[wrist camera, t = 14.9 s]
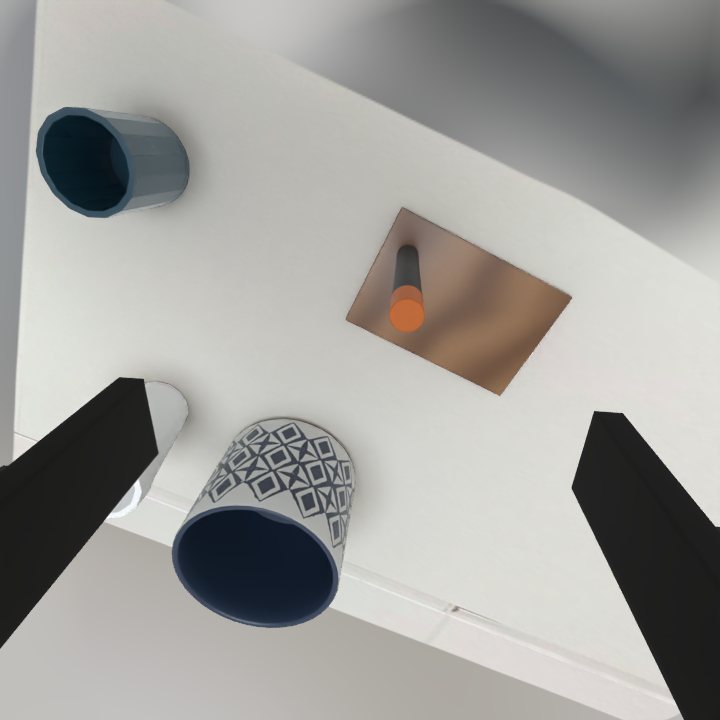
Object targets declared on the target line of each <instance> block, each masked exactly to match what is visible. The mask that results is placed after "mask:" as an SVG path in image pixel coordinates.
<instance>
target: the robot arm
mask: <svg viewBox="0 0 720 720" xmlns="http://www.w3.org/2000/svg"><path fill="white" fill-rule="evenodd" d="M158 454H159V452H158V447H157V442H156V437H155V432H154V427H153V423H152V418H151V413H150V408H149V403H148V398H147V393H146V388H145V383H144V379H136V378H122V377H119V378H118V379H117V380H115V381H114V382H113V383H112V384H110V385H109V386H108V387H106V388H105V389H104V390H103V391H101V392H100V393H99V394H98V395H96V396H95V397H94V398H93V399H91V400H90V401H89V402H88V403H86V404H85V405H84V406H83V407H81V408H80V409H79V410H78V411H76V412H75V413H74V414H73V415H71V416H70V417H69V418H68V419H66V420H65V421H64V422H63V423H61V424H60V425H59V426H58V427H56V428H55V429H54V430H53V431H51V432H50V433H49V434H48V435H46V436H45V437H44V438H42V439H41V440H40V441H39V442H37V443H36V444H35V445H34V446H32V447H31V448H30V449H29V450H27V451H26V452H25V453H24V454H22V455H21V456H20V457H19V458H17V459H16V460H15V461H14V462H12V463H11V464H10V465H9V466H2V467H0V648H1V647H2V646H3V645H4V643H5V642H6V641H7V640H8V639H9V637H10V636H11V635H12V634H13V632H14V631H15V630H16V629H17V627H18V626H19V625H20V624H21V623H22V621H23V620H24V619H25V618H26V616H27V615H28V614H29V613H30V611H31V610H32V609H33V608H34V607H35V605H36V604H37V603H38V602H39V600H40V599H41V598H42V597H43V595H44V594H45V593H46V592H47V591H48V589H49V588H50V587H51V585H52V584H53V583H54V582H55V581H56V579H57V578H58V577H59V576H60V575H61V573H62V572H63V571H64V570H65V568H66V567H67V566H68V565H69V563H70V562H71V561H72V560H73V558H74V557H75V556H76V555H77V553H78V552H79V551H80V550H81V549H82V547H83V546H84V545H85V544H86V542H87V541H88V540H89V539H90V537H91V536H92V535H93V534H94V533H95V531H96V530H97V529H98V528H99V526H100V525H101V524H102V523H103V522H104V520H105V519H106V518H107V517H108V515H109V514H110V513H111V512H112V510H113V509H114V508H115V507H116V506H117V504H118V503H119V502H120V501H121V499H122V498H123V497H124V496H125V494H126V493H127V492H128V491H129V490H130V488H131V487H132V486H133V485H134V483H135V482H136V481H137V480H138V478H139V477H140V476H141V475H142V474H143V472H144V471H145V470H146V469H147V467H148V466H149V465H150V464H151V462H152V461H153V460H154V459H155V458H156V456H157V455H158ZM572 490H573V492H574V494H575V496H576V498H577V500H578V503H579V505H580V507H581V509H582V511H583V513H584V515H585V517H586V519H587V521H588V523H589V525H590V527H591V529H592V531H593V533H594V535H595V538H596V540H597V542H598V544H599V546H600V548H601V550H602V552H603V554H604V556H605V558H606V560H607V562H608V564H609V566H610V568H611V570H612V573H613V575H614V577H615V579H616V581H617V583H618V585H619V587H620V589H621V591H622V593H623V595H624V597H625V599H626V601H627V603H628V605H629V608H630V610H631V612H632V614H633V616H634V618H635V620H636V622H637V624H638V626H639V628H640V630H641V632H642V634H643V636H644V638H645V640H646V643H647V645H648V647H649V649H650V651H651V653H652V655H653V657H654V659H655V661H656V663H657V665H658V667H659V669H660V671H661V673H662V675H663V678H664V680H665V682H666V684H667V686H668V688H669V690H670V692H671V694H672V696H673V698H674V700H675V702H676V704H677V706H678V708H679V710H680V713H681V715H682V717H683V719H684V720H720V527H715V526H714V524H713V523H712V522H711V521H710V520H709V518H708V517H707V516H706V515H705V513H704V512H703V511H702V510H701V509H700V507H699V506H698V505H697V504H696V502H695V501H694V500H693V499H692V497H691V496H690V495H689V494H688V493H687V491H686V490H685V489H684V488H683V486H682V485H681V484H680V483H679V482H678V480H677V479H676V478H675V477H674V475H673V474H672V473H671V472H670V471H669V469H668V468H667V467H666V466H665V464H664V463H663V462H662V461H661V460H660V458H659V457H658V456H657V455H656V453H655V452H654V451H653V450H652V449H651V447H650V446H649V445H648V444H647V442H646V441H645V440H644V439H643V437H642V436H641V435H640V434H639V433H638V431H637V430H636V429H635V428H634V426H633V425H632V424H631V423H630V422H629V420H628V419H627V418H626V417H625V415H624V414H623V413H613V412H599V411H594V414H593V417H592V420H591V424H590V427H589V430H588V434H587V437H586V441H585V444H584V447H583V451H582V454H581V457H580V461H579V464H578V468H577V471H576V474H575V478H574V481H573V484H572Z"/></svg>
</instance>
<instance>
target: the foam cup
mask: <svg viewBox="0 0 720 720" xmlns="http://www.w3.org/2000/svg"><path fill="white" fill-rule="evenodd" d="M145 388H146V393H147V398H148V403H149V408H150V413H151V418H152V423H153V427H154V432H155V437H156V442H157V447H158V452H159V454H158V455H157V456H156V458H155V459H154V460H153V461H152V462H151V464H150V465H149V466H148V467H147V469H146V470H145V471H144V472H143V474H142V475H141V476H140V477H139V478H138V480H137V481H136V482H135V483H134V485H133V486H132V487H131V488H130V490H129V491H128V492H127V493H126V494H125V496H124V497H123V498H122V499H121V501H120V502H119V503H118V504H117V506H116V507H115V508H114V509H113V510H112V512H111V513H110V514H109V515H108V517H107V518H115V517H123V516H124V515H126V514H127V513H129V512H130V511H132V510H133V509H135V508H136V507H137V506H138V505H139V503H140V502H141V501H142V499H143V498H144V497H145V496H146V494H147V493H148V492H149V490H150V488H151V485H152V482H153V479H154V477H155V475H156V474H157V472H158V470H159V468H160V466H161V465H162V463H163V461H164V459H165V457H166V456H167V454H168V452H169V450H170V448H171V447H172V445H173V443H174V441H175V439H176V438H177V436H178V434H179V432H180V430H181V429H182V427H183V425H184V422H185V421H186V418H187V416H188V413H189V411H188V405H187V401H186V400H185V398H184V397H183V395H182V394H181V393H180V391H178V390H177V389H175V388H174V387H172V386H171V385H169V384H166V383H162V382H158V381H156V382H150V383H146V384H145Z"/></svg>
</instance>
